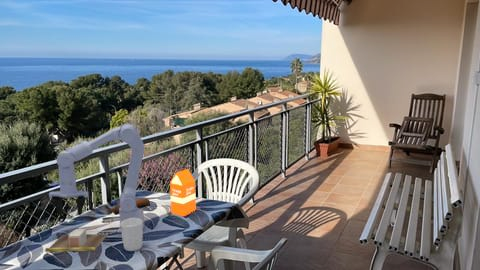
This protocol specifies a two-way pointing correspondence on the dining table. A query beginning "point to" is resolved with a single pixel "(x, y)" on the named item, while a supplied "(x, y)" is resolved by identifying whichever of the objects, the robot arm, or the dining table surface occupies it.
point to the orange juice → (182, 193)
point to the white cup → (132, 233)
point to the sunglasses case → (139, 203)
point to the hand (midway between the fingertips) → (70, 214)
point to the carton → (77, 238)
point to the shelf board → (90, 245)
